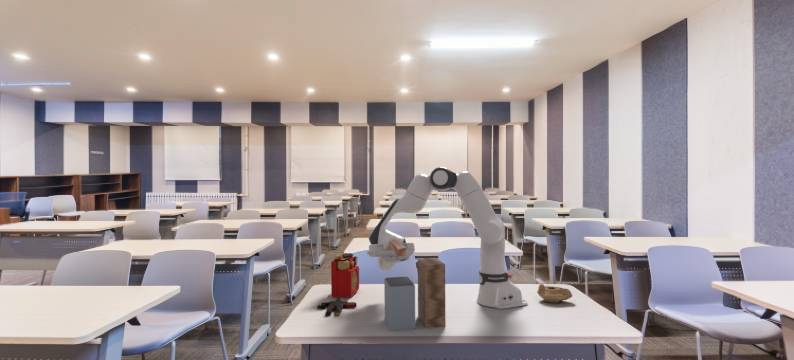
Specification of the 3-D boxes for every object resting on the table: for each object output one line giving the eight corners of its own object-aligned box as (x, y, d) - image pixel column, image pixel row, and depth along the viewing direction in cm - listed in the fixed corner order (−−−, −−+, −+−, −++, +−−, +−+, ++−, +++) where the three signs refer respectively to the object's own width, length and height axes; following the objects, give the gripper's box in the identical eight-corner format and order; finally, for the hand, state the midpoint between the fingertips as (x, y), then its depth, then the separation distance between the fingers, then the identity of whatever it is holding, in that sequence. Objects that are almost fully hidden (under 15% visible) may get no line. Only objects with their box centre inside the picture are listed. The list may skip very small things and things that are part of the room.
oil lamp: (576, 305, 168) (576, 287, 168) (543, 305, 167) (543, 287, 167) (564, 297, 179) (564, 280, 179) (534, 297, 178) (533, 281, 178)
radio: (350, 299, 178) (350, 257, 178) (330, 298, 180) (330, 256, 180) (360, 289, 193) (360, 251, 193) (341, 288, 195) (341, 250, 195)
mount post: (436, 315, 156) (436, 258, 156) (445, 326, 144) (445, 264, 144) (418, 316, 154) (417, 258, 154) (425, 327, 142) (425, 265, 142)
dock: (408, 317, 153) (408, 276, 154) (415, 328, 142) (414, 284, 142) (384, 319, 152) (384, 277, 152) (389, 330, 140) (389, 285, 140)
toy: (358, 307, 167) (358, 301, 167) (335, 319, 153) (335, 312, 153) (332, 302, 175) (332, 296, 175) (307, 312, 161) (307, 306, 161)
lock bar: (395, 246, 162) (395, 239, 162) (406, 256, 141) (405, 248, 141) (389, 246, 162) (388, 239, 162) (398, 256, 140) (398, 248, 140)
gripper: (366, 248, 170) (369, 237, 158) (410, 246, 173) (416, 235, 162) (367, 261, 167) (370, 251, 155) (411, 259, 170) (417, 249, 159)
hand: (393, 243), depth 158 cm, fingers closed on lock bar, 3 cm apart
